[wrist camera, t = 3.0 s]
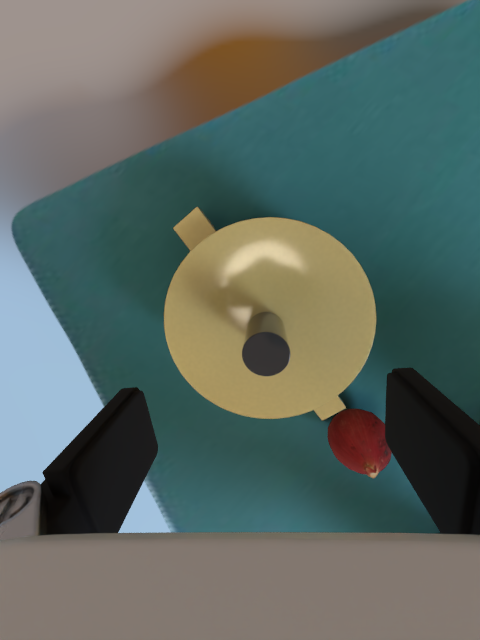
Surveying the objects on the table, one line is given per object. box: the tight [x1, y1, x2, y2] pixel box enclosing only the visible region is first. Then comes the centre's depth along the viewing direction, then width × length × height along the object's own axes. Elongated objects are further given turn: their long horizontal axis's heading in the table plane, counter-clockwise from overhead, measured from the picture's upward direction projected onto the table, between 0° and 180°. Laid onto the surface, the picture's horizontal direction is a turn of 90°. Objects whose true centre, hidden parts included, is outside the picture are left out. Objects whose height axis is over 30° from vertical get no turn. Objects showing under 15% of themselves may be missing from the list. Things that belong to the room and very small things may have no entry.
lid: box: [164, 217, 376, 419], centre depth 18 cm, size 16×16×6 cm
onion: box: [328, 409, 391, 478], centre depth 26 cm, size 6×6×8 cm
